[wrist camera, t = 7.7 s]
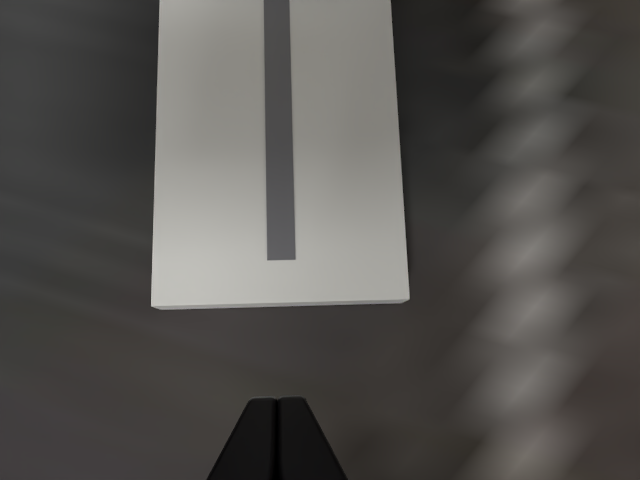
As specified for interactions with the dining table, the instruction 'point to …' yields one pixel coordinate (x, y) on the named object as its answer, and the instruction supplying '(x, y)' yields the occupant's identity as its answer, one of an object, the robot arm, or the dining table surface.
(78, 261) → the dining table surface
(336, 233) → the fader deck
